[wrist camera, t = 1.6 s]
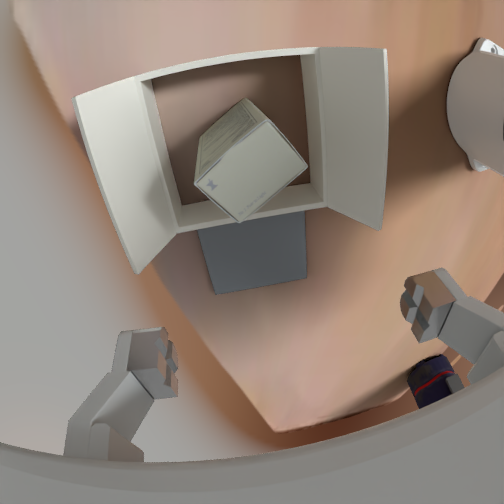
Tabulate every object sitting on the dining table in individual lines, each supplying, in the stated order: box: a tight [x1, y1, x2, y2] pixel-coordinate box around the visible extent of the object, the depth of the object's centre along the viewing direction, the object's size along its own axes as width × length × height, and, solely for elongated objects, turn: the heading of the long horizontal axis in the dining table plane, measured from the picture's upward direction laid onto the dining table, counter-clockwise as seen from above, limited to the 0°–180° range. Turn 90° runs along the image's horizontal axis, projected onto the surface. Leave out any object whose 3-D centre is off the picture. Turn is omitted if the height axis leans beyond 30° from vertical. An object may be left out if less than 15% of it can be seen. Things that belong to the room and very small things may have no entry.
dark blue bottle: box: [407, 354, 464, 409], centre depth 52 cm, size 14×12×30 cm
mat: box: [197, 211, 307, 295], centre depth 37 cm, size 12×10×1 cm
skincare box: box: [194, 98, 308, 223], centre depth 24 cm, size 6×4×12 cm
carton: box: [71, 47, 389, 274], centre depth 24 cm, size 22×15×10 cm
